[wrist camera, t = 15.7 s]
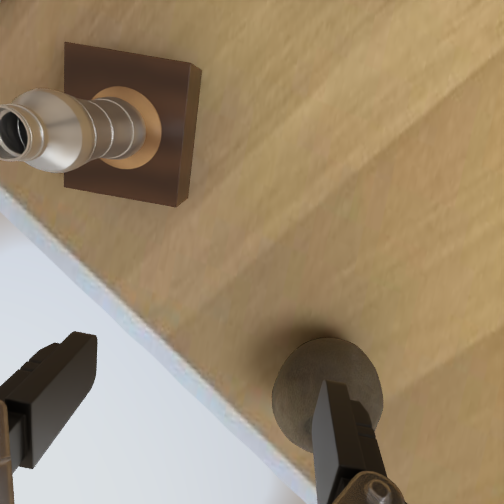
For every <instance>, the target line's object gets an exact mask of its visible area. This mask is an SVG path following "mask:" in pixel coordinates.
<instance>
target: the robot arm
mask: <svg viewBox="0 0 504 504" xmlns="http://www.w3.org/2000/svg"><path fill="white" fill-rule="evenodd" d="M96 365H97V337H96V335H91V334H86V333H81V332H76V331H74V332H72V333H71V334H70V335H69V336H68V337H67V338H66V339H65V340H64V341H63V342H62V343H61V344H59V343H53V344H51V345H49V346H47V347H44V348H43V349H40V350H39V351H38V352H37V353H36V354H35V355H34V356H33V357H32V358H30V359H29V362H26V363H25V364H24V365H23V366H22V367H21V369H20V370H17V371H16V372H15V373H14V374H13V375H12V376H11V377H10V378H9V379H8V380H7V381H6V382H4V383H3V384H2V385H1V386H0V504H14V491H13V477H12V474H13V472H14V471H15V470H16V469H17V467H18V466H20V467H25V468H30V469H33V468H34V467H35V465H36V464H37V463H38V461H39V460H40V458H41V457H42V456H43V454H44V453H45V452H46V450H47V449H48V448H49V446H50V445H51V443H52V442H53V440H54V439H55V438H56V436H57V435H58V434H59V432H60V431H61V430H62V428H63V427H64V426H65V424H66V423H67V421H68V420H69V419H70V417H71V416H72V415H73V413H74V412H75V410H76V409H77V407H78V406H79V405H80V404H81V402H82V401H83V399H84V398H85V397H86V395H87V394H88V392H89V391H90V390H91V388H92V385H93V383H94V380H95V376H96ZM372 427H373V426H372V422H371V419H370V415H369V413H368V412H367V410H366V409H365V408H364V406H363V405H362V404H361V402H360V401H355V400H350V397H349V393H348V388H347V385H346V383H341V382H336V381H331V380H326V379H324V380H323V382H322V385H321V389H320V393H319V397H318V400H317V404H316V408H315V412H314V415H313V421H312V443H313V455H314V466H315V478H316V490H317V502H318V504H407V503H406V502H405V500H404V497H403V495H402V493H401V491H400V490H399V488H398V487H397V486H396V485H395V484H394V483H393V482H392V481H391V480H390V479H388V478H387V475H386V471H385V468H384V464H383V461H382V457H381V454H380V450H379V447H378V443H377V440H376V439H375V437H376V436H375V433H374V429H373V428H372Z"/></svg>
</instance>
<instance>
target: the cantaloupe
mask: <svg viewBox="0 0 504 504" xmlns="http://www.w3.org/2000/svg"><path fill="white" fill-rule="evenodd" d="M324 379H326V380H331V381H336V382H341V383H346V385H347V388H348V393H349V397H350V400H355V401H360V402H361V404H362V405H363V406H364V408H365V409H366V410H367V412H368V413H369V415H370V419H371V422H372V426H373V427H372V428H373V429H374V431H375V429H376V427H377V424H378V422H379V420H380V417H381V414H382V411H383V394H382V389H381V384H380V381H379V377H378V374H377V371H376V369H375V367H374V366H373V364H372V362H371V361H370V360H369V358H368V357H367V356H366V354H365V353H364V352H363V351H362V350H361V349H360V348H359V347H357V346H356V345H354V344H352V343H350V342H348V341H345V340H342V339H336V338H320V339H315V340H312V341H309V342H307V343H305V344H303V345H301V346H300V347H299V348H297V349H296V350H295V351H294V352H293V353H292V354H291V355H290V356H289V357H288V359H287V360H286V361H285V363H284V364H283V366H282V368H281V369H280V371H279V374H278V377H277V379H276V381H275V384H274V387H273V391H272V408H273V413H274V416H275V419H276V421H277V423H278V425H279V427H280V429H281V430H282V432H283V433H284V435H285V436H286V437H287V438H288V439H289V440H290V441H291V442H292V443H294V444H295V445H297V446H298V447H300V448H302V449H304V450H306V451H308V452H310V453H313V443H312V421H313V415H314V412H315V408H316V404H317V400H318V397H319V393H320V389H321V385H322V382H323V380H324Z"/></svg>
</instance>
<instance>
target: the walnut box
mask: <svg viewBox="0 0 504 504" xmlns="http://www.w3.org/2000/svg"><path fill="white" fill-rule="evenodd" d="M201 75H202V70H201V69H199V68H197V67H196V66H194V65H193V64H191V63H187V62H181V61H175V60H169V59H163V58H157V57H152V56H146V55H140V54H134V53H128V52H122V51H116V50H111V49H105V48H99V47H93V46H87V45H81V44H75V43H69V42H65V65H64V93H66V94H68V95H71V96H73V97H75V98H78V99H83V100H94V99H97V98H102V97H117V98H120V99H122V100H124V101H126V102H128V103H130V104H131V105H132V106H134V107H135V108H136V109H137V110H138V111H139V113H140V114H141V116H142V118H143V120H144V122H145V126H146V137H145V141H144V144H143V145H142V147H141V148H140V149H139V150H138V151H137V152H136V153H135V154H134V155H132V156H130V157H128V158H126V159H121V160H115V159H106V158H97V159H94V160H91V161H89V162H87V163H86V164H84V165H82V166H80V167H79V168H76V169H74V170H71V171H68V172H64V187H66V188H72V189H78V190H83V191H89V192H94V193H100V194H105V195H111V196H116V197H122V198H128V199H133V200H139V201H144V202H150V203H155V204H161V205H166V206H172V207H177V206H178V205H180V204H181V203H182V202H183V201H185V200H186V199H187V198H188V193H189V184H190V175H191V166H192V157H193V148H194V139H195V130H196V121H197V112H198V102H199V93H200V84H201Z"/></svg>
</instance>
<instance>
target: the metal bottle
mask: <svg viewBox="0 0 504 504" xmlns="http://www.w3.org/2000/svg"><path fill="white" fill-rule="evenodd" d="M145 137H146V126H145V122H144V120H143V118H142V116H141V114H140V113H139V111H138V110H137V109H136V108H135V107H134V106H132V105H131V104H130V103H128V102H126V101H124V100H122V99H120V98H117V97H102V98H97V99H94V100H83V99H78V98H75V97H73V96H71V95H68V94H66V93H63V92H60V91H56V90H52V89H47V88H38V89H32V90H30V91H28V92H25V93H23V94H21V95H19V96H18V97H16V98H15V99H14V100H13V101H12V103H11V104H4V105H0V160H3V161H11V162H12V161H24V162H26V163H27V164H29V165H30V166H32V167H34V168H36V169H39V170H43V171H47V172H51V173H64V172H68V171H71V170H74V169H76V168H79V167H80V166H82V165H84V164H86V163H87V162H89V161H91V160H94V159H97V158H106V159H115V160H121V159H126V158H128V157H130V156H132V155H134V154H135V153H136V152H137V151H138V150H139V149H140V148H141V147H142V145H143V144H144V141H145Z"/></svg>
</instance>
